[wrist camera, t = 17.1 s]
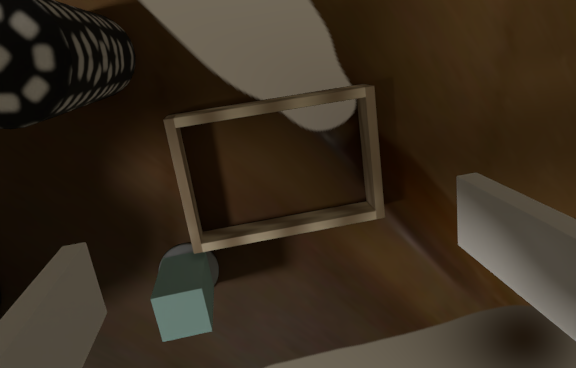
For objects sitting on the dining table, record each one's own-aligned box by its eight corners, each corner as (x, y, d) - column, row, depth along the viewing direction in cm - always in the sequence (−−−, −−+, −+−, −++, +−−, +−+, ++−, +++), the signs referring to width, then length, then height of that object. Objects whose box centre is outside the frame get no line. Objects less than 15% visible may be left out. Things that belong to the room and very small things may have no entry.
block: (172, 295, 53) (162, 341, 44) (162, 258, 51) (150, 299, 43) (214, 286, 53) (212, 331, 45) (205, 249, 52) (201, 288, 43)
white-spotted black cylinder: (84, -6, 43) (-26, -53, 24) (152, 55, 46) (101, 56, 27) (31, 57, 44) (-115, 60, 25) (101, 114, 46) (16, 156, 27)
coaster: (166, 300, 54) (165, 303, 53) (153, 249, 51) (152, 251, 51) (223, 289, 54) (223, 291, 54) (212, 237, 52) (212, 240, 52)
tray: (195, 241, 52) (193, 253, 49) (167, 115, 47) (163, 119, 44) (374, 207, 54) (384, 217, 51) (364, 83, 49) (374, 85, 46)
